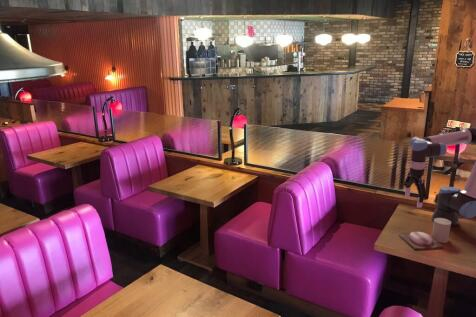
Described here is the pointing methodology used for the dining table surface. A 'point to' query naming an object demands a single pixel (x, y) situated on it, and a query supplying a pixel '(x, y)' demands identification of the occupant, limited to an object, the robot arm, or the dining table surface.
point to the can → (441, 230)
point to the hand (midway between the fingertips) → (412, 202)
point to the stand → (420, 241)
